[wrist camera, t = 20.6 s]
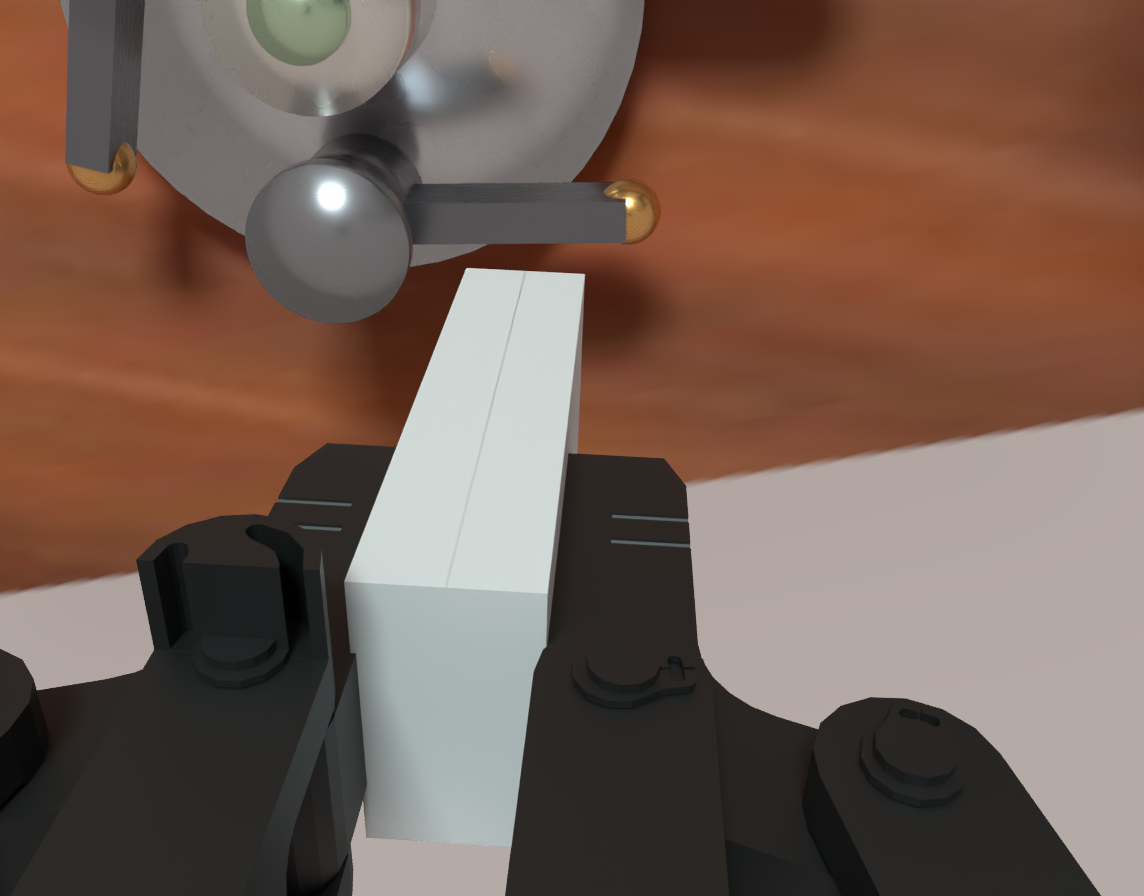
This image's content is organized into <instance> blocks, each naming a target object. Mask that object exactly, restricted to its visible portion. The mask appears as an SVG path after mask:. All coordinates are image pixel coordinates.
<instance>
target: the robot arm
mask: <svg viewBox="0 0 1144 896" xmlns="http://www.w3.org/2000/svg"><path fill="white" fill-rule="evenodd" d="M584 286H585V274H574V273H555V272H535V271H515V270H496V269H476V268H466V270H465V273H464V275H463V278H462V280H461V283H460V285H459V288H458V291H457V293H456V296H455V298H454V301H453V303H452V306H451V309H450V311H449V314H448V316H447V319H446V321H445V324H444V327H443V329H442V332H441V334H440V337H439V339H438V342H437V344H436V347H435V350H434V352H433V355H432V357H431V360H430V362H429V365H428V368H427V370H426V373H425V375H424V378H423V380H422V383H421V386H420V388H419V391H418V393H417V396H416V398H415V401H414V404H413V406H412V409H411V411H410V414H409V416H408V419H407V421H406V424H405V427H404V429H403V432H402V434H401V437H400V439H399V442H398V445H397V447H385V446H367V445H349V444H331V443H327V444H326V445H324V446H323V447H322V448H320V449H319V450H317V451H316V452H315V453H313V454H312V455H311V456H309V457H308V458H306V459H305V460H304V461H302V462H301V463H300V464H298V465H297V466H295V467H294V469H293V471H292V472H291V474H290V476H289V478H288V480H287V482H286V484H285V485H284V487H283V489H282V491H281V493H280V495H279V497H278V503H275V504H274V506H273V508H272V510H271V511H270V513H269V515H268V516H263V515H257V514H251V515H232V516H219V517H215V518H211V519H208V520H204V521H200V522H196V523H192V524H188V525H185V526H183V527H181V528H179V529H177V530H176V531H174V532H172V533H170V534H168V535H166V536H164V537H162V538H160V539H158V540H156V541H155V542H154V543H153V544H152V545H151V546H150V547H149V548H148V549H147V550H146V551H145V552H144V553H143V554H142V555H141V556H140V557H139V558H138V559H137V560H136V561H137V566H138V571H139V576H140V581H141V586H142V591H143V595H144V600H145V606H146V610H147V615H148V620H149V625H150V630H151V635H152V640H153V645H154V651H153V653H152V654H151V656H150V658H149V660H148V661H147V663H146V665H145V666H144V668H143V670H140V671H137V672H135V673H131V674H126V675H122V676H118V677H114V678H110V679H105V680H99V681H93V682H86V683H81V684H74V685H68V686H62V687H56V688H49V689H44V690H36V686H35V683H34V679H33V677H32V676H31V674H30V672H29V670H28V669H27V667H26V665H25V663H24V662H23V660H22V659H20V658H18V657H16V656H14V655H12V654H10V653H8V652H5V651H3V650H1V649H0V896H352V889H353V863H352V853H351V844H350V843H351V840H352V837H353V833H354V829H355V826H356V822H357V818H358V815H359V812H360V808H361V805H362V801H363V803H364V815H365V826H366V837H367V838H382V839H397V840H412V841H413V840H414V841H427V842H442V843H457V844H472V845H473V844H474V845H488V846H504V847H511V854H510V862H509V870H508V877H507V886H506V893H505V896H1101V895H1100V894H1099V892H1098V891H1097V889H1096V888H1095V887H1094V885H1093V884H1092V882H1091V881H1090V880H1089V878H1088V877H1087V875H1086V874H1085V873H1084V871H1083V870H1082V868H1081V867H1080V866H1079V864H1078V863H1077V861H1076V860H1075V858H1074V857H1073V856H1072V854H1071V853H1070V851H1069V850H1068V849H1067V847H1066V846H1065V844H1064V843H1063V842H1062V840H1061V839H1060V837H1059V836H1058V834H1057V833H1056V832H1055V830H1054V829H1053V827H1052V826H1051V825H1050V823H1049V822H1048V820H1047V819H1046V818H1045V816H1044V815H1043V813H1042V812H1041V811H1040V809H1039V808H1038V806H1037V805H1036V803H1035V802H1034V801H1033V799H1032V798H1031V796H1030V795H1029V794H1028V792H1027V791H1026V789H1025V788H1024V786H1023V785H1022V784H1021V782H1020V781H1019V780H1018V778H1017V777H1016V775H1015V774H1014V772H1013V771H1012V769H1011V768H1010V767H1009V765H1008V764H1007V762H1006V761H1005V760H1004V758H1003V757H1002V755H1001V754H1000V753H999V752H998V751H997V750H996V749H995V748H994V747H993V746H992V745H991V744H990V743H989V742H988V741H987V740H986V739H985V738H984V737H983V736H982V735H981V734H980V733H979V732H978V731H977V730H976V729H975V728H974V727H972V726H971V725H969V724H967V723H965V722H964V721H962V720H960V719H958V718H957V717H955V716H953V715H951V714H950V713H948V712H946V711H944V710H943V709H940V708H936V707H933V706H930V705H926V704H923V703H919V702H915V701H912V700H909V699H904V698H901V699H900V698H874V697H870V698H867V699H864V700H860V701H856V702H853V703H849V704H846V705H842V706H840V707H839V708H838V709H837V710H836V711H834V712H833V713H832V714H831V715H829V716H828V717H827V718H826V719H825V720H824V721H822V722H821V723H820V726H819V729H815V728H812V727H809V726H805V725H802V724H799V723H796V722H792V721H789V720H786V719H783V718H779V717H776V716H774V715H771V714H769V713H766V712H764V711H761V710H759V709H756V708H754V707H751V706H750V705H748V704H746V703H745V702H743V701H742V700H740V699H738V698H737V697H735V696H734V695H732V694H730V693H729V692H728V691H727V690H726V689H725V688H724V687H723V686H721V684H719V683H718V682H717V681H716V680H715V679H714V678H713V677H712V675H711V673H710V672H709V670H708V669H707V667H706V666H705V663H704V661H703V659H702V658H701V654H700V650H699V646H698V640H697V626H696V613H695V599H694V586H693V573H692V560H691V549H690V532H689V523H688V507H687V492H686V485H685V484H684V483H683V482H682V480H681V479H680V478H679V477H678V475H677V474H676V473H675V472H674V470H673V469H672V468H671V467H670V465H669V464H668V463H667V462H666V460H665V459H662V458H644V457H626V456H608V455H590V454H577V451H578V428H579V404H580V380H581V357H582V333H583V309H584Z"/></svg>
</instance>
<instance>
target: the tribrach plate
mask: <svg viewBox="0 0 1144 896" xmlns="http://www.w3.org/2000/svg"><path fill="white" fill-rule="evenodd" d="M60 1H61V5H62V9H63V12H64V16H65V20H66V23H67V26H68V29H69V0H60ZM644 2H645V0H145V9H144V27H143V44H142V62H141V80H140V98H139V116H138V133H137V149H138V151H139V152H140V153H141V154H142V155H143V157H144V158H145V159H146V160H147V161H148V163H149V164H150V165H151V166H152V167H153V168H154V169H155V170H157V171H158V172H159V173H160V174H161V175H162V176H163V177H164V178H165V179H166V180H167V181H168V182H169V183H170V184H171V185H172V186H173V187H174V188H175V189H176V190H177V191H179V192H180V193H181V194H183V195H184V196H185V197H186V198H188V199H189V200H190V201H192V202H193V203H194V204H195V205H197V206H198V207H199V208H201V209H202V210H203V211H205V212H206V213H207V214H209V215H210V216H212V217H214V218H215V219H217V220H219V221H220V222H222V223H224V224H225V225H227V226H228V227H230V228H232V229H233V230H235V231H237V232H238V233H240V234H242V235H245V226H246V220H247V216H248V213H249V210H250V207H251V205H252V203H253V201H254V199H255V198H256V196H257V195H258V194H259V192H260V191H261V190H262V189H263V188H264V187H265V186H266V185H267V184H268V183H269V182H270V181H271V180H272V179H273V178H274V177H275V176H276V175H277V174H278V173H280V172H281V171H282V170H284V169H286V168H287V167H289V166H291V165H293V164H296V163H299V162H301V161H305V160H310V159H311V157H312V156H313V155H314V154H315V153H316V152H317V151H318V150H319V149H320V148H321V147H322V146H324V145H325V144H326V143H327V142H329V141H331V140H333V139H334V138H337V137H340V136H343V135H347V134H355V133H361V134H370V135H375V136H378V137H381V138H383V139H385V140H387V141H389V142H391V143H393V144H394V145H396V146H397V147H398V148H400V149H401V150H402V151H403V152H404V153H405V154H406V155H407V156H408V157H409V158H410V159H411V161H412V162H413V163H414V165H415V167H416V168H417V170H418V172H419V175H420V177H421V180H422V183H423V184H460V183H558V182H572V180H573V179H574V178H575V177H576V176H577V175H578V174H579V173H580V172H581V170H582V169H583V168H584V166H585V165H586V163H587V162H588V161H589V159H590V158H591V156H592V155H593V153H594V152H595V150H596V149H597V147H598V146H599V144H600V143H601V141H602V140H603V138H604V136H605V134H606V132H607V130H608V128H609V127H610V125H611V123H612V121H613V119H614V117H615V115H616V113H617V111H618V109H619V107H620V105H621V102H622V99H623V96H624V93H625V90H626V88H627V85H628V82H629V79H630V76H631V74H632V71H633V67H634V63H635V58H636V54H637V49H638V45H639V40H640V36H641V31H642V23H643V12H644ZM485 245H487V244H427V245H413V253H412V260H411V264H410V267H412V266H418V265H424V264H429V263H435V262H441V261H444V260H447V259H450V258H453V257H457V256H460V255H463V254H466V253H469V252H472V251H475V250H477V249H479V248H481V247H483V246H485Z"/></svg>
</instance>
